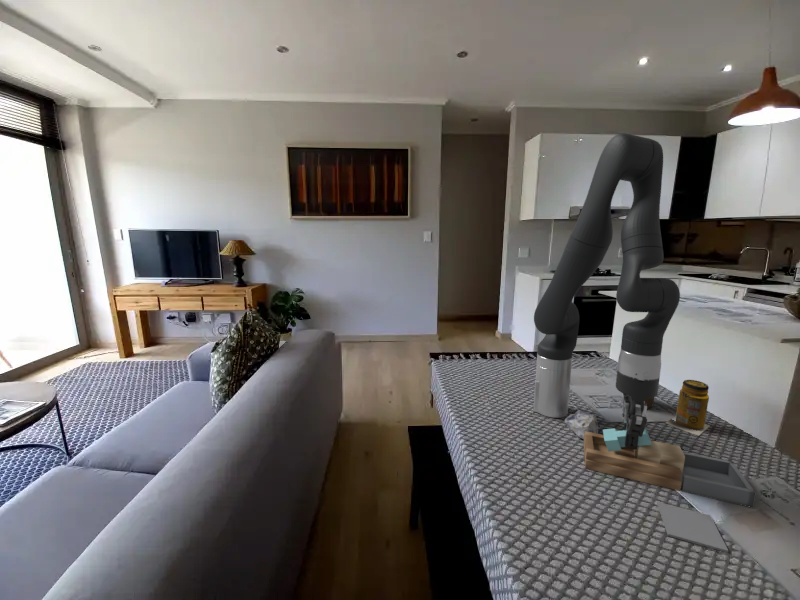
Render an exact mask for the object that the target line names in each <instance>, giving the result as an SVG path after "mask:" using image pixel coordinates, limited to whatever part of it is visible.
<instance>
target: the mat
mask: <svg viewBox="0 0 800 600" xmlns="http://www.w3.org/2000/svg"><path fill="white" fill-rule="evenodd" d="M656 505H657V508H658V511H659V513H660V516H661V520H662V522H663V526H664V528H665V532H666V533H667V536H668V537H671V538H675V539H678V540H681V541H684V542H688V543H692V544H696V545H698V546H703V547H707V548H709V549H714V550H717V551H721V552H724V553H727V554H728V553H729V549H728V547H727V544H726V543H725V542H724V539H723V537H722V536H721V533H720V532H719V530H718V527H717V525H716V524H715V522H714V520H713V518H712V516H711V515H710V514H706V513H704V512H698V511H695V510H692V509H687V508H683V507H679V506H675V505H671V504H667V503H663V502H659V501H657V502H656Z"/></svg>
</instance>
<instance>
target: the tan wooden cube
mask: <svg viewBox="0 0 800 600" xmlns="http://www.w3.org/2000/svg"><path fill="white" fill-rule="evenodd" d="M650 441H651V444H652V445H643V446H637V449H636V450H634V456H635V459H640V460H644V461H649V462H654V463H658V464H660V459H661V450H660V447H659V445H658V443H657V442H658V441H654V440H651V439H650Z"/></svg>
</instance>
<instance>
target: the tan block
mask: <svg viewBox="0 0 800 600" xmlns="http://www.w3.org/2000/svg"><path fill="white" fill-rule="evenodd" d="M656 442H657V443H658V445H659V447H660V450H661V459H660V464H663V465H668V466H672V467H677V468H680V470H681V472H682V474H683V467H684V461H685V456H684V454H683V452H684V451H683V450H682V449H681V447H680V446H681V445H676V444H671V443H666V442H659V441H656Z"/></svg>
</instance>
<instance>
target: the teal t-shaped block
mask: <svg viewBox="0 0 800 600" xmlns="http://www.w3.org/2000/svg"><path fill="white" fill-rule="evenodd" d="M602 433H603V434H602V435H604V441H605V444H606V447H607V449H608V451H621V447H625V438H626V430H624V429H623V430H617V429H616V428H607V429H602ZM650 440H651V438H650V436H649V433H648V430H647V427H645V428H644V432H643V435H642V437H640V436H639V437H638V446H643V445H652V444H651V441H652V440H651V441H650Z"/></svg>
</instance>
